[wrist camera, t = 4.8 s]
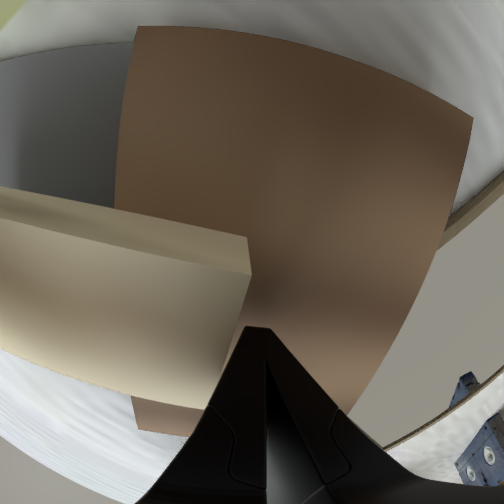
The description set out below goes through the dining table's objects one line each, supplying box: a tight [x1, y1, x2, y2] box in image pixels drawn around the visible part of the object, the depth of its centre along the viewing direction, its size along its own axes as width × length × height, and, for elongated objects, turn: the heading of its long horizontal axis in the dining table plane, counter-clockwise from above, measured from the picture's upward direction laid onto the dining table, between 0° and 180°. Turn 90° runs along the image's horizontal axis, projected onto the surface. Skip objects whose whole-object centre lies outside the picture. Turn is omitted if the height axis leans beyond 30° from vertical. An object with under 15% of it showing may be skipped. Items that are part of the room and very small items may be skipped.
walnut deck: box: [114, 26, 473, 437], centre depth 10 cm, size 16×10×2 cm, turn 170°
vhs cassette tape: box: [455, 413, 504, 486], centre depth 23 cm, size 18×3×10 cm, turn 15°
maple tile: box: [0, 186, 252, 410], centre depth 7 cm, size 5×9×2 cm, turn 75°
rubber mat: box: [0, 42, 134, 209], centre depth 9 cm, size 14×9×1 cm, turn 170°
